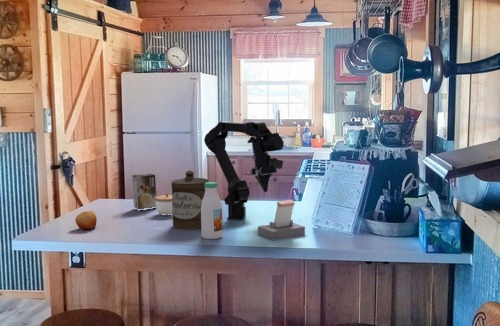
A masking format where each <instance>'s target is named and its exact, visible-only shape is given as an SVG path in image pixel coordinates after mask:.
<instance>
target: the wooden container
mask: <svg viewBox="0 0 500 326" xmlns="http://www.w3.org/2000/svg"><path fill="white" fill-rule="evenodd" d="M184 174H185V177H183V178H179V179H173V180H171V195H172V215H171V216H172V227H173V226H174V227H173V228H175V229H177V228H178V230H185V229H192V230H200V229H199V228H201V203H202V200H203V197H204V195H205V186H204V184H205V183H206V182H209V179H207V178H203V177H195V176H194V175H195V173H194V171H192V170H187V171H185V173H184Z"/></svg>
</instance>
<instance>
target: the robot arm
mask: <svg viewBox="0 0 500 326" xmlns="http://www.w3.org/2000/svg"><path fill="white" fill-rule="evenodd" d="M270 130H271V129H269V127H268V126H267V125H266V123H265V122H264V121H250V122H245V123H244V122H233V121H227V120H226V121H225V120H224V121H219V122H218V123H217V124H216V125H215V126H214V127H213V128H211V129H210V130H209V131H208V132H207V133H206V134H205V136H204V139H203V141H204V144H205V146H206V147H207V149H208V150H209V151H210V152H212V153H213V155H215V158H216V160H217V162H218V165H219V167H220V168H221V171H222V173H223V175H224V178H225V179H226V182H227V193H228V194H227V196H226V197H225V198H224V204H225V206H226V205H227V212H228V216H227V217H226V219H227V220H244V219H245V217H247V215H246V209H247V208H246V206H245V204H246V203H248V200H249V197H250V194H251V193H250V191H251V190H250V187H249V186H248V183H247V181H246V180H245V179H244V180H241V179H240V178H239V175H238V173H237V172H236V170H235V167H234V165H233V163H232V161H231V159H230V156H229V154H228V152H227V150H226V145H227V142H226V139H227V138H228V137H229V136H228V135H229V132H232V133H233V132H234V133H243V134H244V135H246V136H249V137H250V138H249V139H248V140H247V144H251V146H252V152H253V156H252V160H253V161H254V166H253V167H251V169H250V170H249V172H250V176H251V175H252V176H253V175H254V178H255V180H256V181H257V183H258V184H259V186H260V187H261V189H262V191H263V193H267V192H268V188H269V181H270V180H269V179H270V178H271V176H272V175H273V174H275V173H277V172H278V171H277V169H278V170H279V169H281V170H282V169H283V165H284V160H281V159H278V158H277V157H271V155H270V154H269V153H270V152H275V151H276V152H277V151H281V150H283V148H284V146H285V144H284V140H283V138H282V137H281V135H280V134H279V133H280V132H273V133H272V131H270ZM268 152H269V153H268Z"/></svg>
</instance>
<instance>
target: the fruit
mask: <svg viewBox="0 0 500 326" xmlns="http://www.w3.org/2000/svg"><path fill="white" fill-rule="evenodd" d="M97 218H98V217H97V216H96V214H95V212H94V211H92V210H86V211H82V212H80V213H78V214H77V216H76V217H75V224H76V226H77V228H79V230H81V229H91V230H93V229H95V228H96V226H97V220H98V219H97Z"/></svg>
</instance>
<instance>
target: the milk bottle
mask: <svg viewBox="0 0 500 326" xmlns="http://www.w3.org/2000/svg"><path fill="white" fill-rule="evenodd" d="M204 186H205V195H204V197H203V200H202V203H201V229H200V230H201V238H203V239H206V240H217V239H221V238H223V235H224V230H223V228H224V227H223V226H224V223H223V222H224V221H223V205H222V200H221V199H220V196H219V194H218V182H215V181H208V182H206V183H205V184H204Z"/></svg>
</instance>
